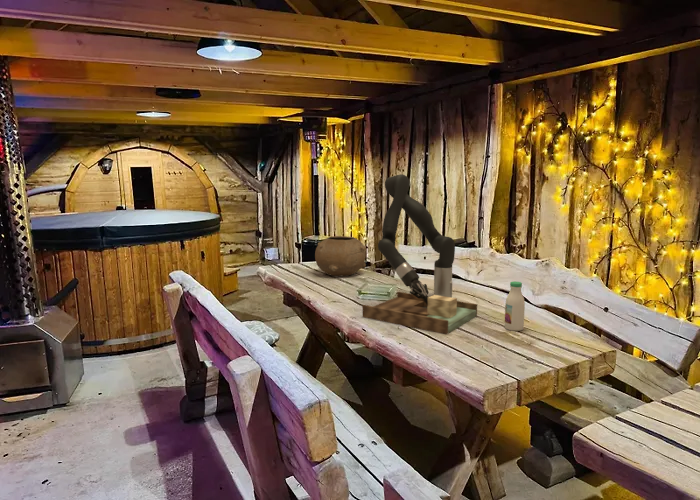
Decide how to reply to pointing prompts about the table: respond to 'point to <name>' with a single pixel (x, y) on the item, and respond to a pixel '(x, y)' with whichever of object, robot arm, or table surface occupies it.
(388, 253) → the robot arm
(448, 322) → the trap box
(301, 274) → the table surface
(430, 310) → the maple block
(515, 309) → the milk bottle
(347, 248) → the ceramic pot
